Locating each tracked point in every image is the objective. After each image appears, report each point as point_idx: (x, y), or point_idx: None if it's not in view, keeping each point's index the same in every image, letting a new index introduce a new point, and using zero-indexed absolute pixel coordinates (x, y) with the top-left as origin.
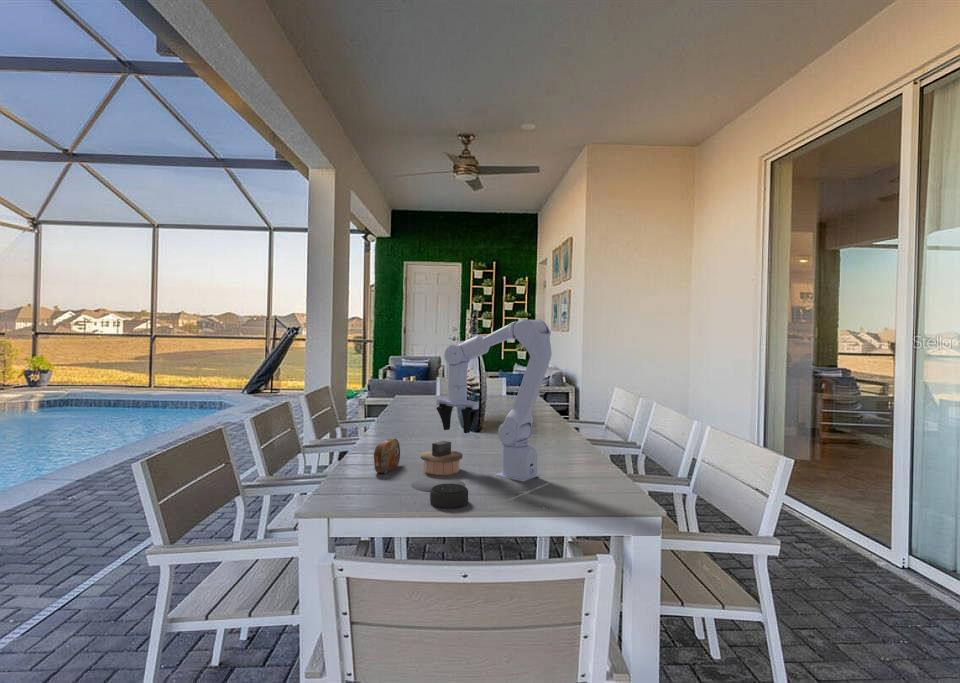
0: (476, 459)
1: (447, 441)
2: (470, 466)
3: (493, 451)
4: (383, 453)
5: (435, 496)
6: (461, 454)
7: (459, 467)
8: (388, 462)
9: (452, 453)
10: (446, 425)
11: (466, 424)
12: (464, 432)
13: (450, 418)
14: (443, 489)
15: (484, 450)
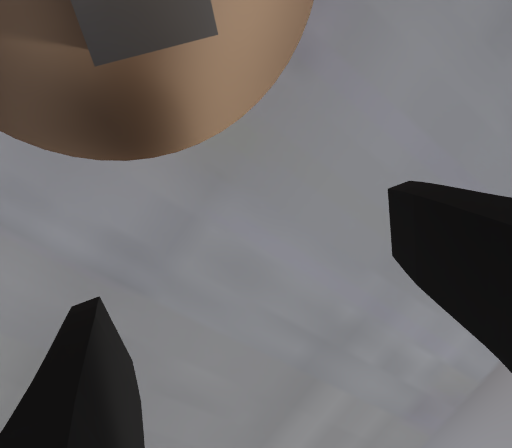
0: (244, 324)
1: (152, 47)
2: (121, 221)
3: (316, 443)
4: None
5: None
6: (7, 123)
7: None
8: None
9: (96, 72)
10: (425, 229)
11: (21, 403)
12: (90, 303)
13: (489, 347)
14: None
15: (355, 418)
